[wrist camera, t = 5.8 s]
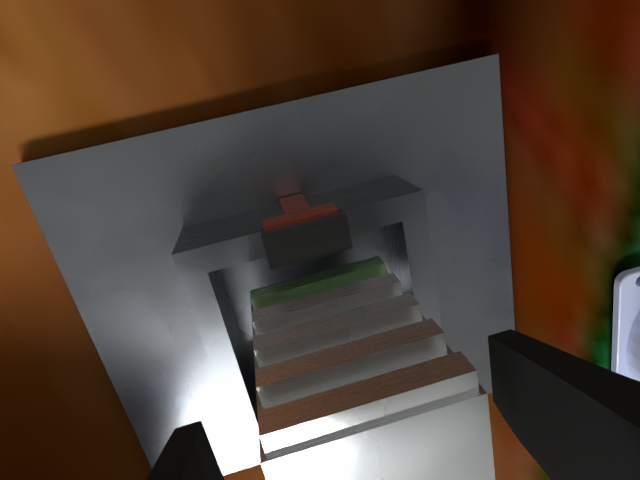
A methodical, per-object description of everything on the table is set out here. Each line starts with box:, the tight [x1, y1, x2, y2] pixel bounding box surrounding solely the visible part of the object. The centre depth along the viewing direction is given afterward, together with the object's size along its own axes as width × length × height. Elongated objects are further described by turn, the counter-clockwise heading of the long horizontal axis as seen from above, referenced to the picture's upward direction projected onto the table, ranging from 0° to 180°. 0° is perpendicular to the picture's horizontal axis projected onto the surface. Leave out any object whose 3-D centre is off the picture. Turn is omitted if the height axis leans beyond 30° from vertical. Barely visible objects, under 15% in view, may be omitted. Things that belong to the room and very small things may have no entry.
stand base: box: [11, 54, 515, 476], centre depth 15 cm, size 16×14×4 cm
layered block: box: [250, 256, 495, 480], centre depth 11 cm, size 4×4×6 cm
